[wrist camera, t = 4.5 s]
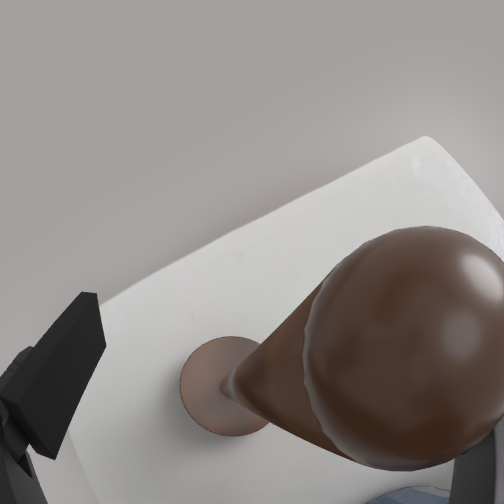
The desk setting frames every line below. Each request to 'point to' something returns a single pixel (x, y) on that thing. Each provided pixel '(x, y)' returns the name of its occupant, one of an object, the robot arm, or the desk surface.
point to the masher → (372, 357)
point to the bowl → (414, 496)
